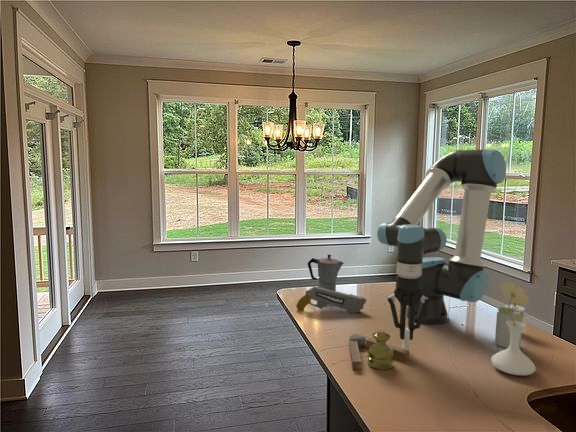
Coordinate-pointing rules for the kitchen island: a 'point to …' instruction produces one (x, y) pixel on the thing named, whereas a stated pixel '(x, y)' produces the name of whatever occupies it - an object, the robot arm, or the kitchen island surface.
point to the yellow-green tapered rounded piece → (380, 352)
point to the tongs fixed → (356, 349)
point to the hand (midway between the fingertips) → (405, 348)
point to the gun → (331, 300)
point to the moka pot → (326, 271)
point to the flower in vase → (513, 337)
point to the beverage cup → (516, 307)
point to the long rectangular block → (398, 352)
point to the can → (505, 327)
